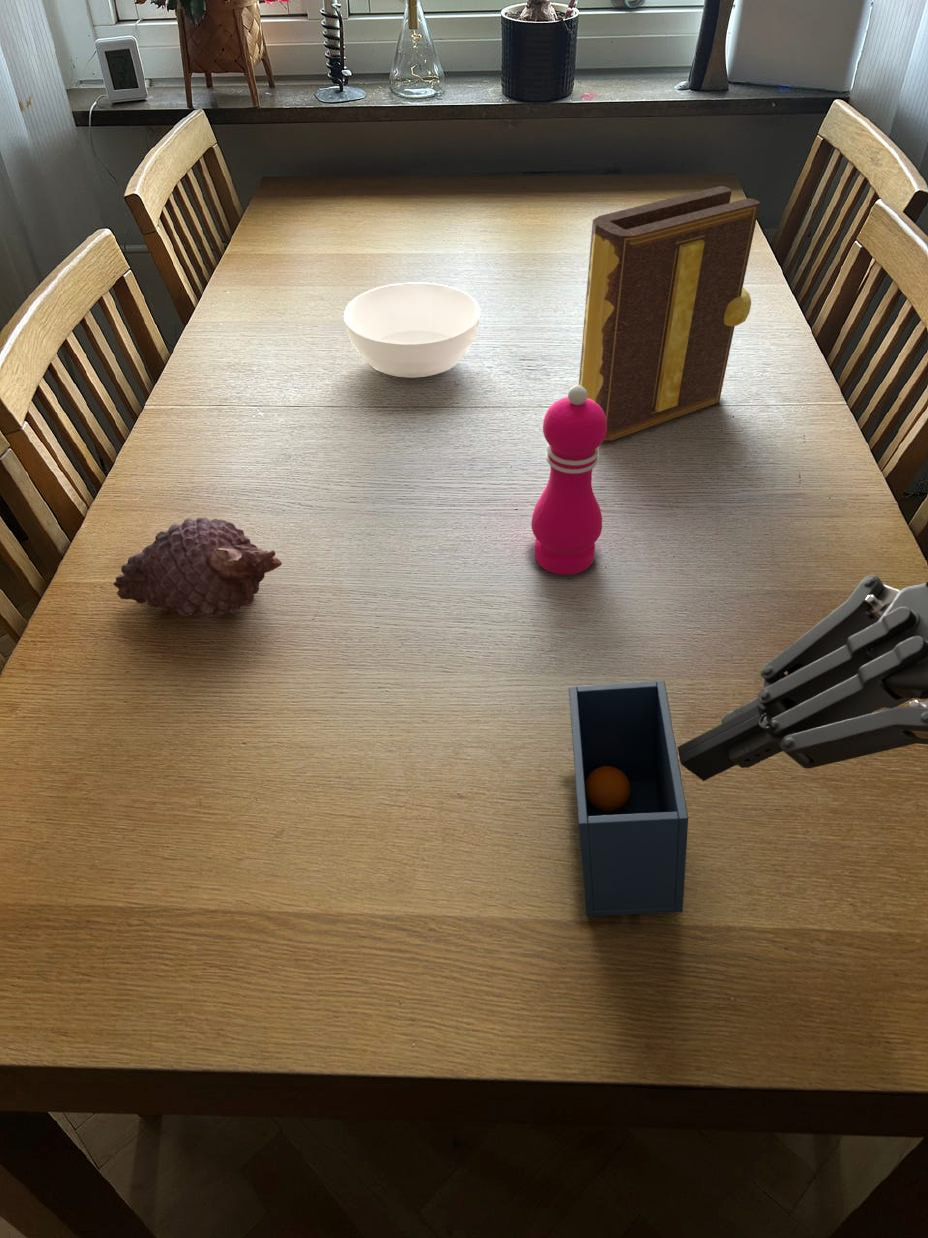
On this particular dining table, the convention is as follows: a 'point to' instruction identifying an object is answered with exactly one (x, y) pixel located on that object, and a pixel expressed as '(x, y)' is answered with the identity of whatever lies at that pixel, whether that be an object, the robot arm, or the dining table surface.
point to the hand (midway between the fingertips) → (690, 763)
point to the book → (664, 306)
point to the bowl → (412, 327)
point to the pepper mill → (570, 485)
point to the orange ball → (607, 789)
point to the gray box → (630, 800)
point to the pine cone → (197, 569)
